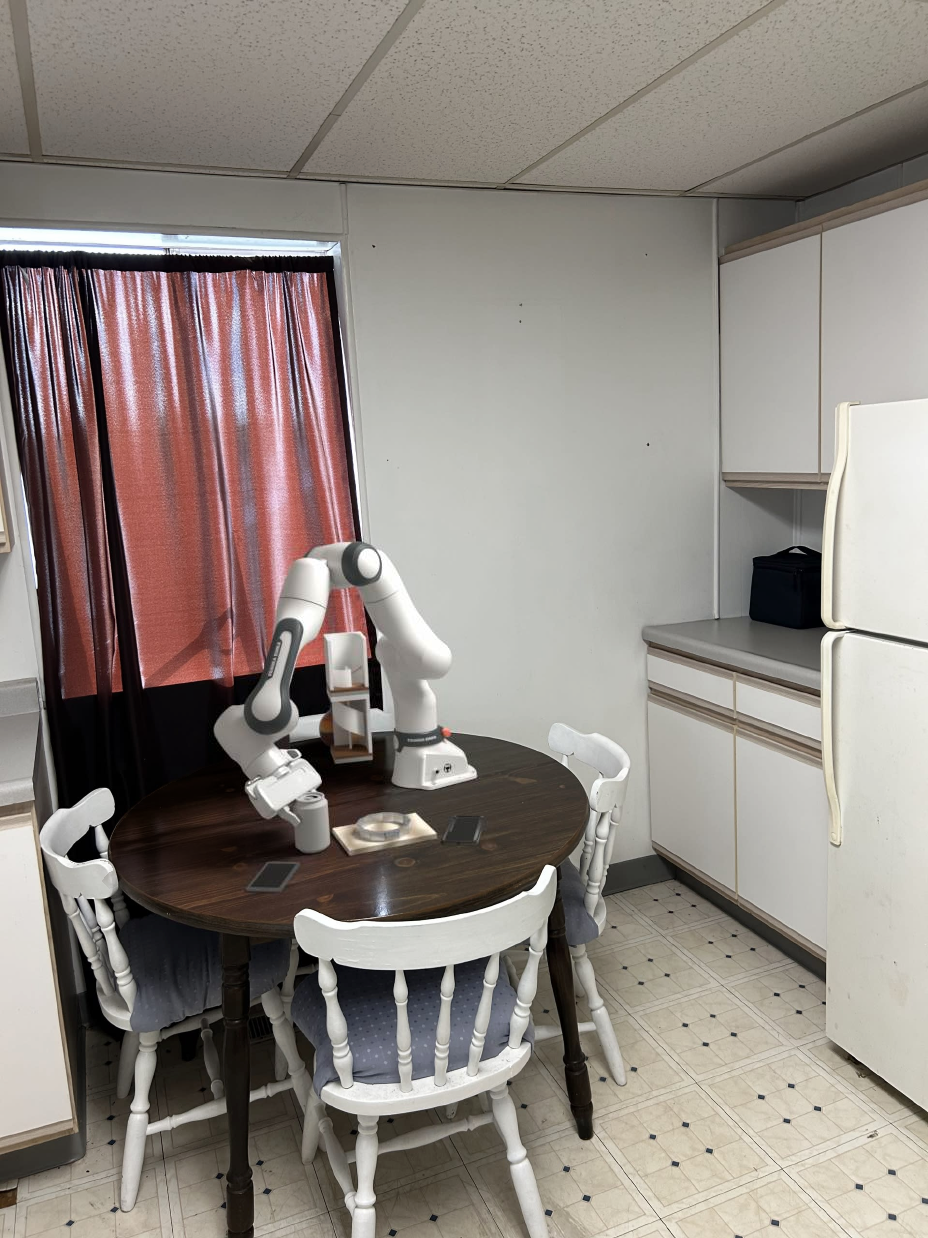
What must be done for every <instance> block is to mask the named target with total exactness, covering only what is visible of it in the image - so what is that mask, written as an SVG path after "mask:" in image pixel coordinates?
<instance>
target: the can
mask: <svg viewBox="0 0 928 1238" xmlns="http://www.w3.org/2000/svg"><path fill="white" fill-rule="evenodd" d="M295 799H296V801H295V802H294V803H293V804H292V811H293V812H292V813H293V814H295V815H297V814H298V815H299V816H300V817H301V818H302V822H301V823H300V824H299V825H298V826H296V827H295V826H293V828H294V839H295V841H294V842H295V848H296V849H298V850H300V852H301V853H304V854H317V853H320V852H322V851H325V850H326V849H327V848H328V847H329V845H330V844H331V838H330V837H331V835H330V820H329V807H328V805H329V804H328V800H327V799H326V798H325V794H324V793H323V792H319V791H317V792H305V793H303V795H302V796H300V797H299V798H297V797H296V798H295Z"/></svg>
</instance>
